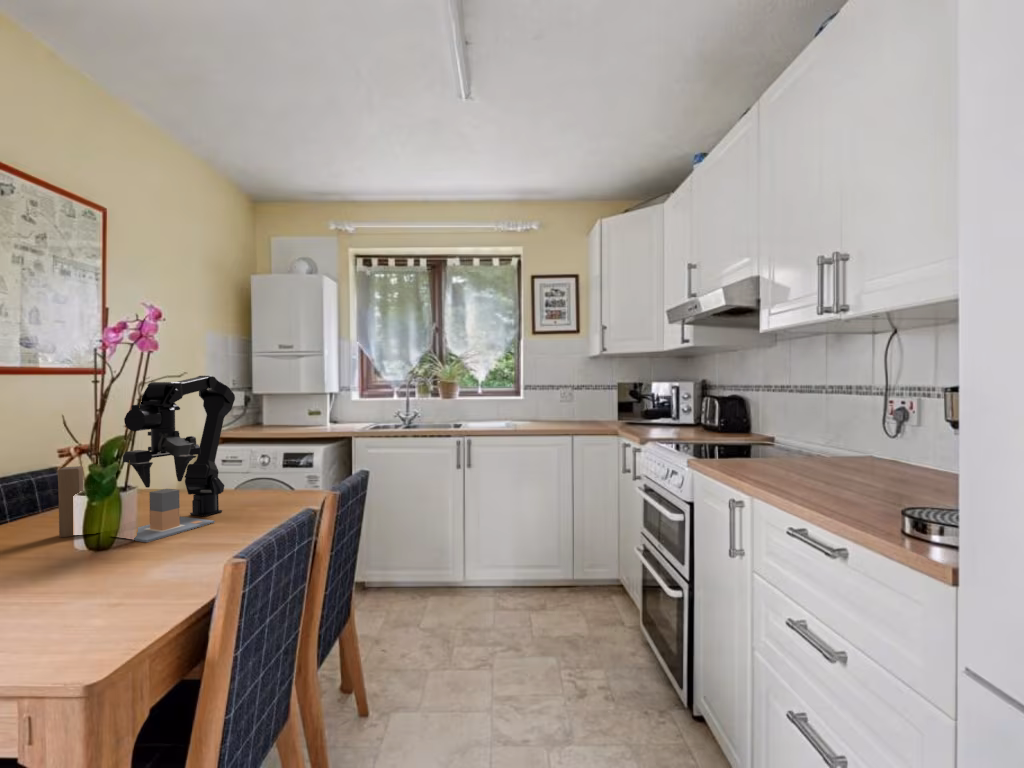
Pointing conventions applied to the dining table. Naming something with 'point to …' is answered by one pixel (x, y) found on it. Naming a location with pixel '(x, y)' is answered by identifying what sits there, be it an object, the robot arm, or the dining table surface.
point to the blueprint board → (185, 524)
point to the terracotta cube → (164, 519)
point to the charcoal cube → (164, 500)
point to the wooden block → (68, 497)
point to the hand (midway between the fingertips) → (164, 484)
